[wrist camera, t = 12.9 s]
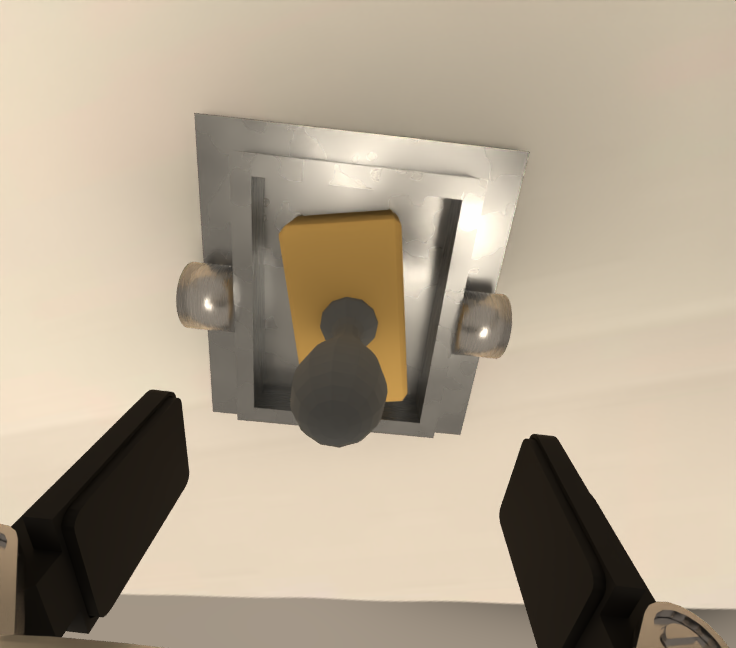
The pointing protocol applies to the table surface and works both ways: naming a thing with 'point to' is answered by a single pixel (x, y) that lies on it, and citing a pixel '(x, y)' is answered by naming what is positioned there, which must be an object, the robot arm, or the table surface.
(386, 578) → the table surface
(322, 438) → the rubber stamp
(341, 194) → the grey metal square tray
